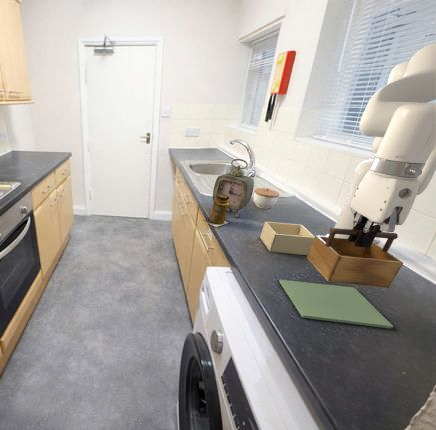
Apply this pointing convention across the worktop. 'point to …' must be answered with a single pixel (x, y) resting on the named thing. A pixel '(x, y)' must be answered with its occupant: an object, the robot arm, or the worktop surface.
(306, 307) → the green mat
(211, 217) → the condiment
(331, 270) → the wooden basket
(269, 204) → the trinket box
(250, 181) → the tabletop clock
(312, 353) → the worktop surface
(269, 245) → the cream basket
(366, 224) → the robot arm
